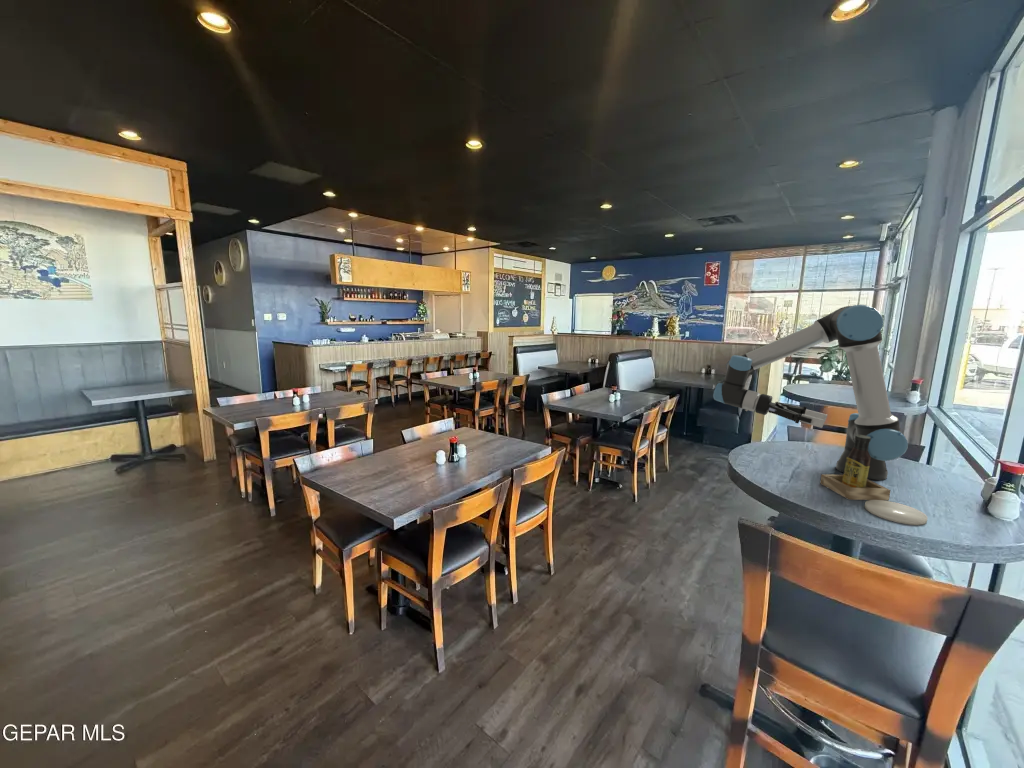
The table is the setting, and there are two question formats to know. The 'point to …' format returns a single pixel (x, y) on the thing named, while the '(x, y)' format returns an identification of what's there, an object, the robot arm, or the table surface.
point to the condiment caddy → (855, 489)
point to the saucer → (896, 512)
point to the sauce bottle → (857, 463)
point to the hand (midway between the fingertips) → (825, 421)
